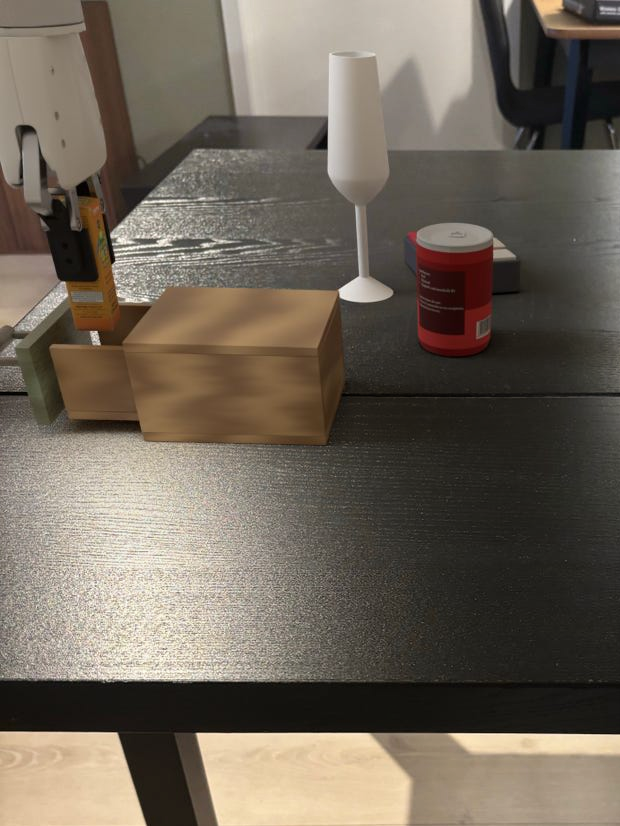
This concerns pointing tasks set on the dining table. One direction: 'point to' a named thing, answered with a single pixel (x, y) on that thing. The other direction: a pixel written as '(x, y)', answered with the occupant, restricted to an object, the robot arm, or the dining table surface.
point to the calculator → (503, 264)
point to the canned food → (454, 288)
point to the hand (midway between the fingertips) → (87, 269)
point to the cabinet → (238, 365)
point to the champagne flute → (357, 153)
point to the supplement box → (97, 299)
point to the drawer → (75, 366)
